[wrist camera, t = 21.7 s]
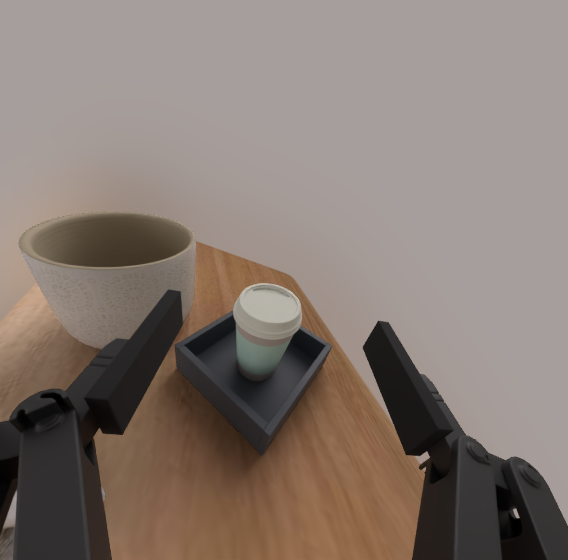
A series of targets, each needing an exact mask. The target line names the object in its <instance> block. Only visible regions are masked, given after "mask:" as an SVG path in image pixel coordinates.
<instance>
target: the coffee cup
mask: <svg viewBox="0 0 568 560" xmlns="http://www.w3.org/2000/svg"><path fill="white" fill-rule="evenodd" d="M233 315H234V319H235V321H236V344H237V366H238V370H239V372H240V373H241V374H242V375H243V376H244V377H245V378H247V379H249V380H252V381H263V380H266V379H268V378H269V377H271V376H272V375H273V373H274V372H275V370H276V368H277V366H278V364H279V362H280V360H281V358H282V356H283V354H284V352H285V350H286V348H287V346H288V344H289V342H290V340H291V339H292V337H293V335H294V333H295V332H296V331H297V330H298V329H299V328H300V325H301V321H302V312H301V304H300V302H299V300H298V298H297V297H296V296H295V295H294V294H293V293H292V292H291V291H289V290H287V289H286V288H283V287H281V286H278V285H274V284H267V283H261V284H255V285H251V286H249V287H247V288H246V289H244V290H243V291H242V293H241V295H240V296H239V298H238V299H237V300H236V303H235V305H234V309H233Z"/></svg>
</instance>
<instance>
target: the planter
mask: <svg viewBox="0 0 568 560" xmlns="http://www.w3.org/2000/svg"><path fill="white" fill-rule="evenodd" d="M19 248H20V250H21V253H22V254H23V257H24V259H25V261H26V263H27V265H28V267H29V269H30V270H31V272H32V274H33V276H34V278H35V280H36V282H37V283H38V285H39V287H40V289H41V291H42V293H43V295H44V297H45V299H46V300H47V302H48V304H49V306H50V307H51V309H52V311H53V313H54V314H55V316H56V317H57V319H58V321H59V322H60V323H61V324H62V326H63V327H64V328H65V329H66V331H67V332H68V333H69V334H70V335H71V336H73V337H74V338H75V339H77V340H78V341H80V342H82V343H84V344H86V345H88V346H91V347H94V348H98V349H103V348H104V346H106V345H107V344H109V343H110V342H112V341H113V340H115V339H116V338H121V339H130V338H131V336H132V335H133V334H134V332H135V331H136V330H137V329H138V327H139V326H140V325H141V323H142V322H143V321H144V320H145V318H146V317H147V316H148V314H149V313H150V312H151V311H152V309H153V308H154V307H155V305H156V304H157V303H158V302H159V300H160V299H161V298H162V296H163V295H164V294H165V293H166V291H167V290H168V289H169V290H175V291H181V300H182V315H183V323H184V321H185V320H186V318H187V317H188V315H189V313H190V311H191V308H192V304H193V299H194V291H195V267H196V237H195V235H194V233H193V232H192V231H191V230H190V229H189V228H188V227H186V226H185V225H183V224H181V223H179V222H177V221H174V220H171V219H168V218H164V217H160V216H155V215H150V214H143V213H133V212H91V213H82V214H74V215H68V216H63V217H59V218H55V219H51V220H48V221H45V222H42V223H40V224H37V225H36V226H34V227H32V228H30V229H28V230H27V231H26V232H24V233H23V234H22V236H21V237H20V239H19Z"/></svg>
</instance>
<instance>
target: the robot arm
mask: <svg viewBox="0 0 568 560" xmlns="http://www.w3.org/2000/svg"><path fill="white" fill-rule="evenodd" d="M182 325H183V315H182V300H181V291H175V290H169V289H168V290H167V291H166V293H165V294H164V295H163V296H162V298H161V299H160V300H159V302H158V303H157V304H156V305H155V307H154V308H153V309H152V311H151V312H150V313H149V314H148V316H147V317H146V318H145V320H144V321H143V322H142V323H141V325H140V326H139V327H138V329H137V330H136V331H135V332H134V334H133V335H132V336H131V338H130V339H121V338H116V339H115V340H113V341H112V342H110V343H109V344H107V345H106V346H104V348H103V349H102V350H101V351H100V352H99V353H98V354H97V356H96V358H94V359H93V360H92V361H91V363H90V364H89V366H87V367H86V368H85V369H84V371H83V372H82V373H81V374H80V375H79V376H78V377H77V379H76V380H75V381H74V382H73V383H72V384H71V385H70V387H69V388H68V389H67V390H66V391H63V390H61V389H48V390H44V391H41V392H38V393H36V394H34V395H32V396H30V397H29V398H27V399H26V400H24V401H23V402H22V403H20V404H19V405H18V406H17V408H16V409H15V410H14V411H13V412H12V414H11V416H10V419H9V420H8V421H4V422H0V535H1V532H2V529H3V526H4V524H5V521H6V518H7V515H8V512H9V509H10V506H11V503H12V500H13V498H14V495H15V492H16V489H17V501H16V518H15V534H14V551H13V560H112V557H111V550H110V543H109V537H108V530H107V523H106V516H105V510H104V503H103V496H102V489H101V483H100V476H99V469H98V463H97V456H96V449H95V442H94V439H93V437H94V435H95V434H96V432H97V431H98V429H99V427H100V429H101V431H102V433H103V434H117V435H123V433H124V431H125V429H126V427H127V426H128V424H129V422H130V420H131V418H132V416H133V415H134V413H135V411H136V409H137V407H138V405H139V404H140V402H141V400H142V398H143V396H144V394H145V393H146V391H147V389H148V387H149V385H150V383H151V382H152V380H153V378H154V376H155V374H156V372H157V371H158V369H159V367H160V365H161V363H162V361H163V359H164V358H165V356H166V354H167V352H168V350H169V348H170V347H171V345H172V343H173V341H174V339H175V337H176V336H177V334H178V332H179V330H180V328H181V326H182ZM363 350H364V352H365V355H366V357H367V360H368V362H369V365H370V367H371V369H372V372H373V374H374V377H375V379H376V382H377V384H378V387H379V389H380V392H381V394H382V397H383V399H384V402H385V404H386V407H387V409H388V412H389V414H390V416H391V419H392V421H393V424H394V426H395V429H396V431H397V434H398V436H399V439H400V441H401V444H402V446H403V449H404V451H405V454H406V455H413V456H420V455H422V454H423V453H425V452H426V451H427V452H428V454H429V456H430V458H429V459H428V460H426V461H425V462H423V463H422V464H420V466H419V469H420V470H422V469H423V468H425V467H426V472H425V479H424V485H423V492H422V498H421V505H420V511H419V518H418V524H417V531H416V537H415V544H414V550H413V557H412V560H568V526H567V523H566V521H565V519H564V517H563V515H562V513H561V511H560V509H559V507H558V505H557V503H556V501H555V499H554V497H553V494H552V493H551V491H550V488H549V486H548V485H547V483H546V481H545V480H544V478H543V477H542V476H541V475H540V473H539V472H538V471H537V470H536V469H535V468H534V467H533V466H531V465H530V464H529V463H528V462H526V461H525V460H523V459H521V458H518V457H511V458H509V459H507V460H504V459H501V458H499V457H497V456H495V455H492V454H490V453H488V452H487V451H486V449H485V448H484V447H483V446H482V445H481V444H480V443H479V442H477V441H476V440H475V439H473V438H471V437H470V436H466V434H465V433H464V431H463V430H462V428H461V427H460V425H459V424H458V422H457V421H456V419H455V417H454V416H453V414H452V413H451V411H450V409H449V408H448V406H447V405H446V403H444V400H443V398H442V397H441V395H439V392H438V391H437V389H436V387H435V386H434V384H433V383H432V382H431V381H430V380H429V379H428V378H427V377H426V376H425V375H423V374H419V372H418V370H417V369H416V367H415V365H414V364H413V362H412V360H411V359H410V357H409V355H408V354H407V352H406V351H405V349H404V347H403V346H402V344H401V342H400V341H399V339H398V337H397V336H396V334H395V332H394V331H393V329H392V327H391V326H390V324H389V323H388V322H383V321H378V322H377V324H376V326H375V327H374V329H373V331H372V332H371V334H370V336H369V337H368V339H367V341H366V342H365V344H364V346H363ZM515 508H516V509H517V512H518V514H519V517H520V518H516V517H515V515H514V512H513V509H515Z"/></svg>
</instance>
